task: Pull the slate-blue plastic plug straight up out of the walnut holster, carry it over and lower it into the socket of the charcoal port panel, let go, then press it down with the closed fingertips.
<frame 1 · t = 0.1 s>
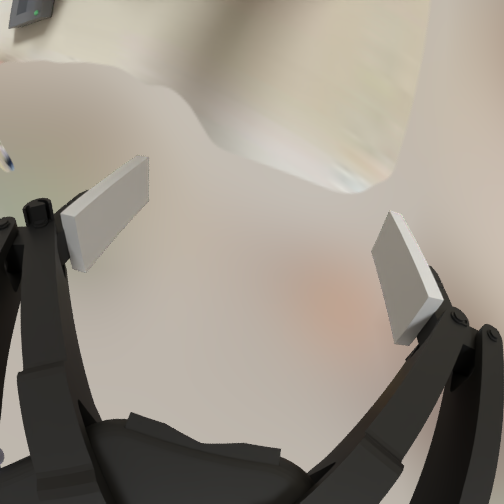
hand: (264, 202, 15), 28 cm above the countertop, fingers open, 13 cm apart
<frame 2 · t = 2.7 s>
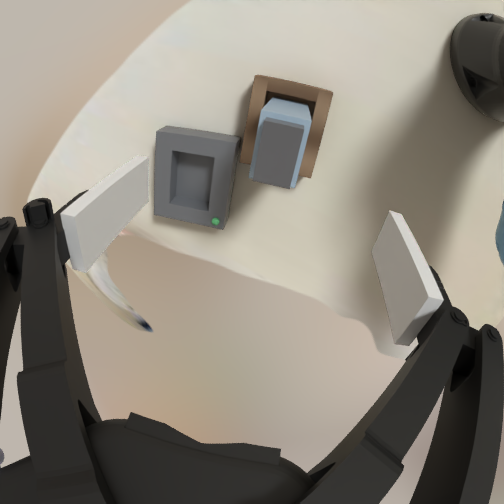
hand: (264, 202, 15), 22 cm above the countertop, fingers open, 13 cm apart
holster: (285, 122, 33), on the countertop
plug: (285, 123, 33), resting on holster
port: (197, 173, 39), on the countertop
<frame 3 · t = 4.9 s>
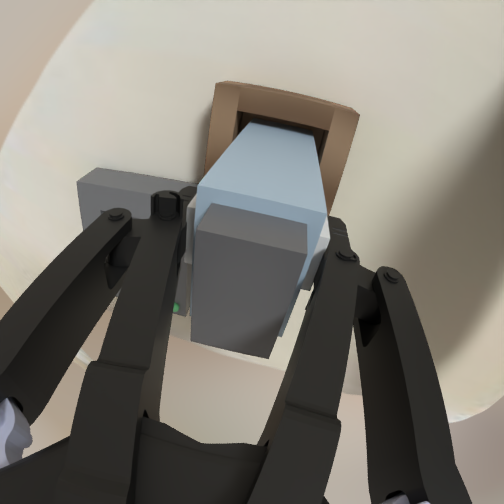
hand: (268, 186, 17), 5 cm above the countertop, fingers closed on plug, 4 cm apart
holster: (274, 161, 21), on the countertop
plug: (274, 164, 20), point 1 cm above the countertop, touching gripper, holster
port: (146, 235, 26), on the countertop
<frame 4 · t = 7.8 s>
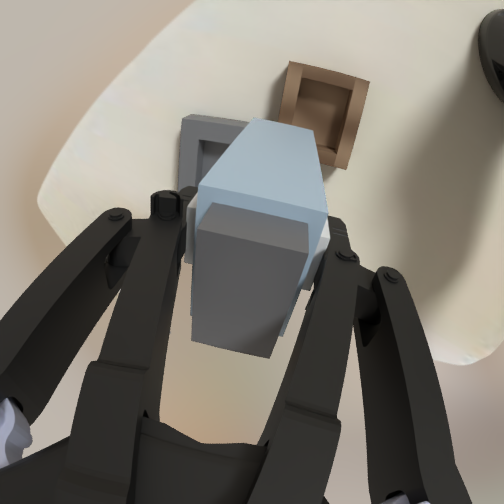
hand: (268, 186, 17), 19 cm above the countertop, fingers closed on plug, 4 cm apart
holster: (319, 112, 31), on the countertop
plug: (274, 163, 20), point 15 cm above the countertop, touching gripper
port: (224, 164, 37), on the countertop
when the fingers open (6 cm above the countertop, at t = 10.5 s): plug drops 1 cm, resting on port.
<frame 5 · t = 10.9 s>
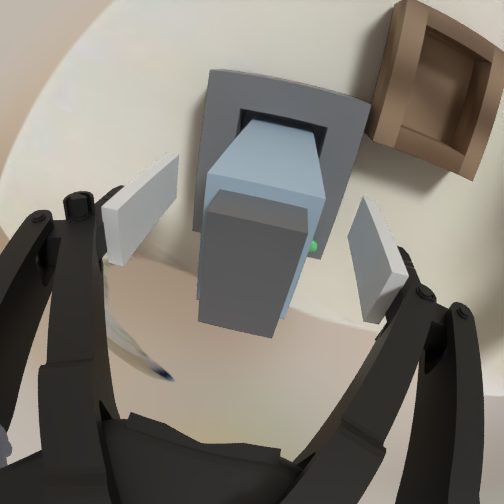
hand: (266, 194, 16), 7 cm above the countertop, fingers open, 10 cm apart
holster: (432, 87, 16), on the countertop
plug: (275, 159, 21), resting on port
port: (275, 157, 21), on the countertop
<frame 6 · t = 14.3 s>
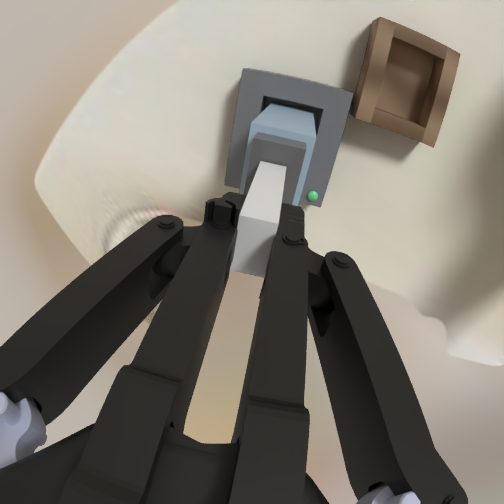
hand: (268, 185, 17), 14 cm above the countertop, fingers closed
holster: (401, 80, 23), on the countertop
plug: (286, 133, 28), point 1 cm above the countertop, touching gripper, port
port: (286, 132, 29), on the countertop
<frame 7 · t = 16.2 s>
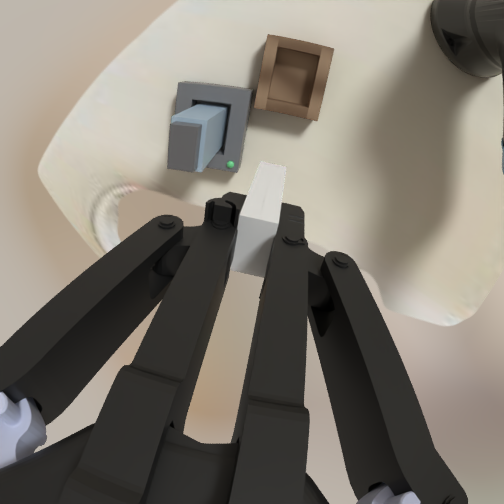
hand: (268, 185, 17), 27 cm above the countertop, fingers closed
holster: (293, 76, 35), on the countertop
plug: (212, 123, 40), resting on port
port: (213, 123, 41), on the countertop
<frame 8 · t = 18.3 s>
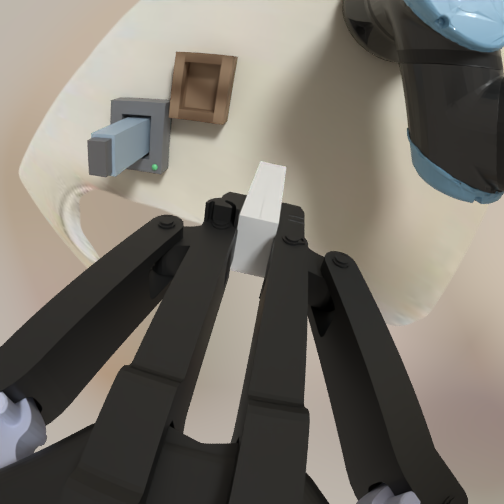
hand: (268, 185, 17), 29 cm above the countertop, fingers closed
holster: (205, 85, 40), on the countertop
plug: (142, 132, 45), resting on port
port: (143, 132, 45), on the countertop
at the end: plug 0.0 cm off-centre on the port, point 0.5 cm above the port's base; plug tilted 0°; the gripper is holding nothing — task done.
